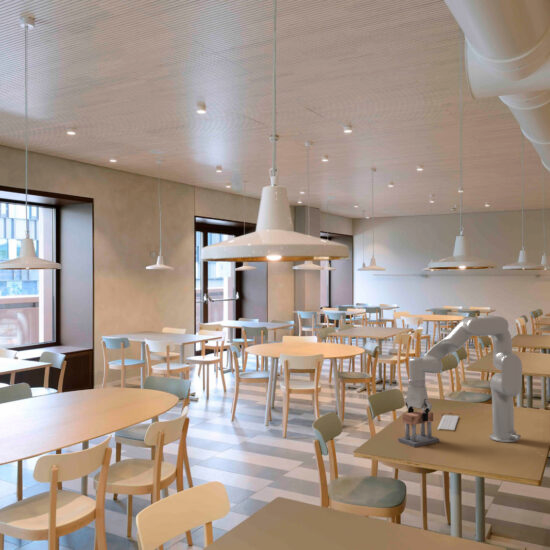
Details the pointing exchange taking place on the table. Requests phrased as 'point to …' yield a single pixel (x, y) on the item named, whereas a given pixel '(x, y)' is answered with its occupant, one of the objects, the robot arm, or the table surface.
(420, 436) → the peg stand
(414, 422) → the pink elongated block
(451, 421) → the baseboard
